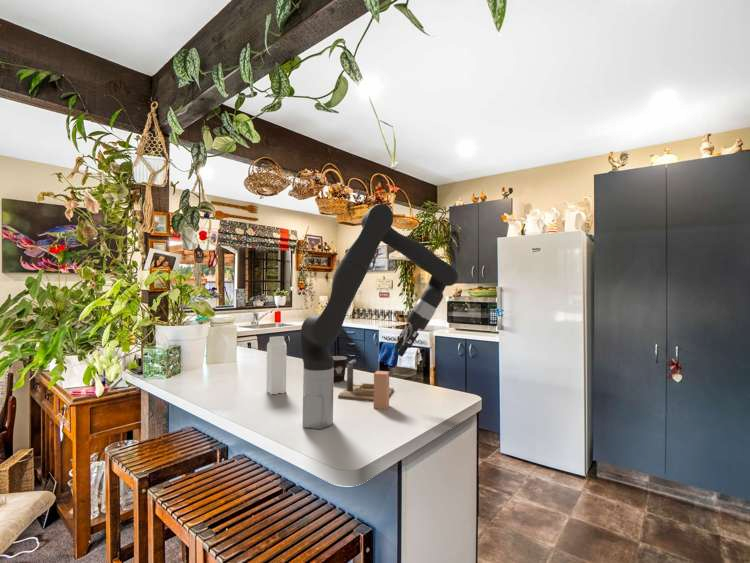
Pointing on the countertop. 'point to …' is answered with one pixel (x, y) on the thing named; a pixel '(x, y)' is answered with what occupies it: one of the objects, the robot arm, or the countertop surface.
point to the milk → (276, 365)
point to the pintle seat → (358, 387)
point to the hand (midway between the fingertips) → (398, 351)
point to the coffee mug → (339, 368)
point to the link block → (381, 389)
